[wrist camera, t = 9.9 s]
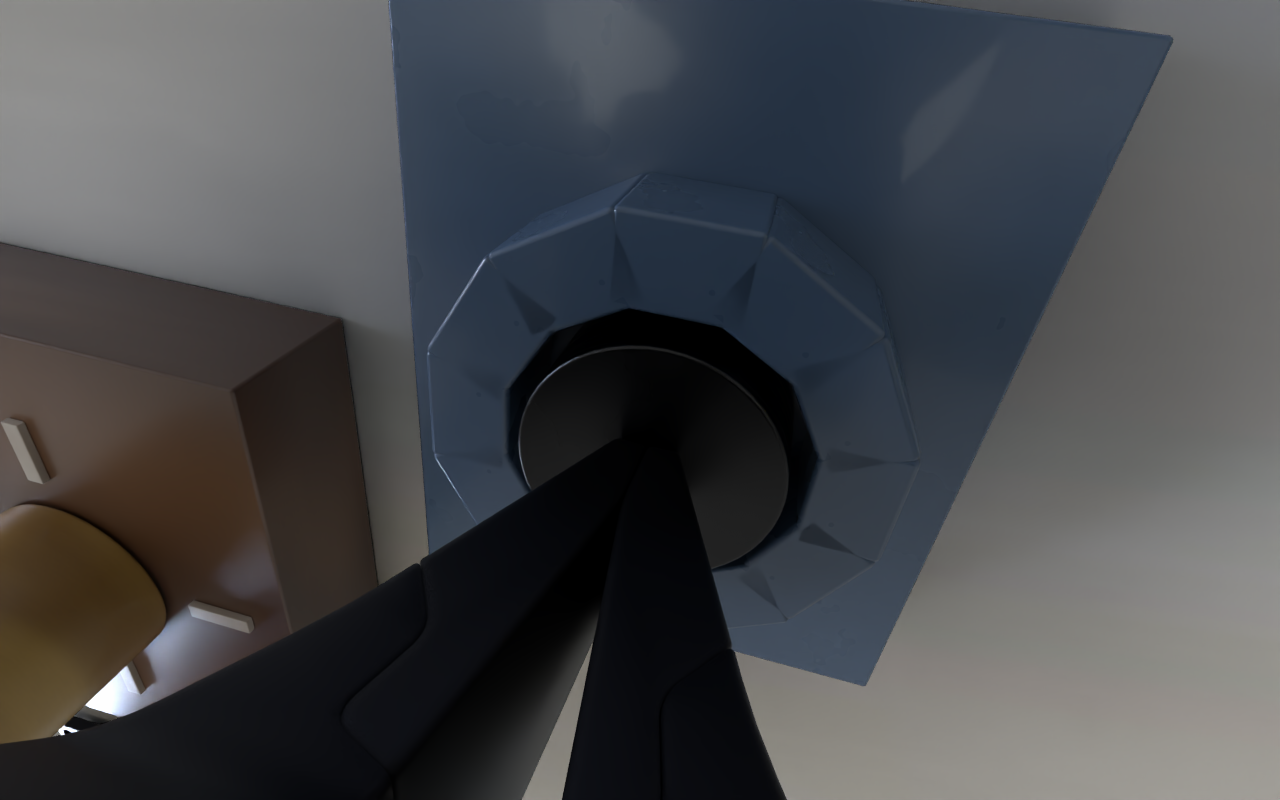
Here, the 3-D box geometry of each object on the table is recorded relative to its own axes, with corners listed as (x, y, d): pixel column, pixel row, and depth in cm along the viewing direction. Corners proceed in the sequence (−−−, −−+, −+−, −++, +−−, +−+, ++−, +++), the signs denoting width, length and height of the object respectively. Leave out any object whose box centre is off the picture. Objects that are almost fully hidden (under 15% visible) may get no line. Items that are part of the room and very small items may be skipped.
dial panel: (392, 686, 20) (325, 793, 17) (100, 599, 21) (-4, 685, 18) (343, 317, 13) (224, 396, 11) (-70, 225, 15) (-266, 275, 12)
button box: (861, 619, 14) (871, 780, 11) (465, 516, 15) (381, 637, 12) (1117, 30, 8) (1275, 46, 5) (447, -59, 10) (280, -86, 7)
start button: (765, 520, 11) (756, 602, 9) (554, 470, 11) (514, 539, 10) (822, 321, 9) (822, 383, 8) (566, 269, 9) (519, 318, 8)
